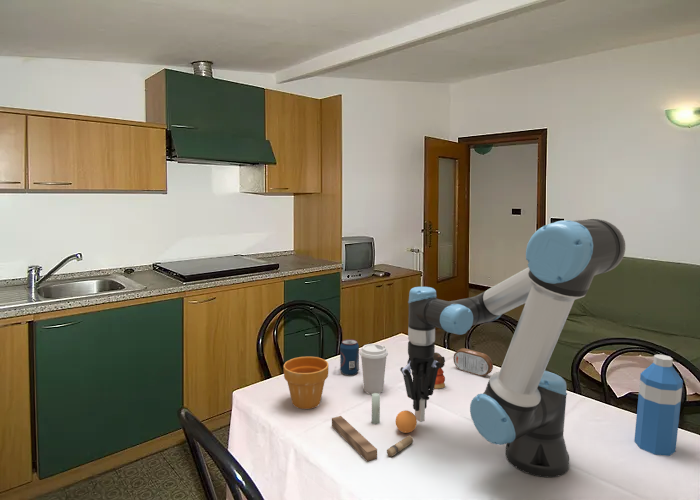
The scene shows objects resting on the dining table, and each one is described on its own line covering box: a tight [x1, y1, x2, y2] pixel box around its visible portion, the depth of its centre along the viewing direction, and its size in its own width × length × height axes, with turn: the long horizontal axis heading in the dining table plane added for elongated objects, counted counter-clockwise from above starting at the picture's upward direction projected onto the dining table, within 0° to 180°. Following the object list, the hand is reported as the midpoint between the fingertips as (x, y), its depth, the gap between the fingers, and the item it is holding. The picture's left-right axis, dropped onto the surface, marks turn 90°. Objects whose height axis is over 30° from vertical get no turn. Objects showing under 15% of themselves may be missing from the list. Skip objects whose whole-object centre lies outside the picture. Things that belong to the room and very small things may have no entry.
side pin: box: [371, 393, 381, 425], centre depth 139 cm, size 2×2×8 cm
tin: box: [453, 347, 494, 377], centre depth 175 cm, size 15×3×8 cm, turn 49°
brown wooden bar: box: [331, 415, 378, 462], centre depth 129 cm, size 20×3×2 cm, turn 29°
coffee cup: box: [359, 343, 389, 395], centre depth 160 cm, size 10×10×15 cm
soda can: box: [339, 338, 360, 376], centre depth 175 cm, size 7×7×12 cm
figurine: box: [433, 352, 446, 390], centre depth 163 cm, size 6×6×12 cm
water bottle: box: [633, 353, 684, 457], centre depth 125 cm, size 9×9×25 cm
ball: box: [395, 410, 418, 434], centre depth 134 cm, size 6×6×6 cm
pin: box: [386, 435, 414, 457], centre depth 125 cm, size 2×2×9 cm
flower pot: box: [283, 356, 329, 410], centre depth 151 cm, size 14×14×13 cm
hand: (419, 419), depth 137 cm, fingers closed
